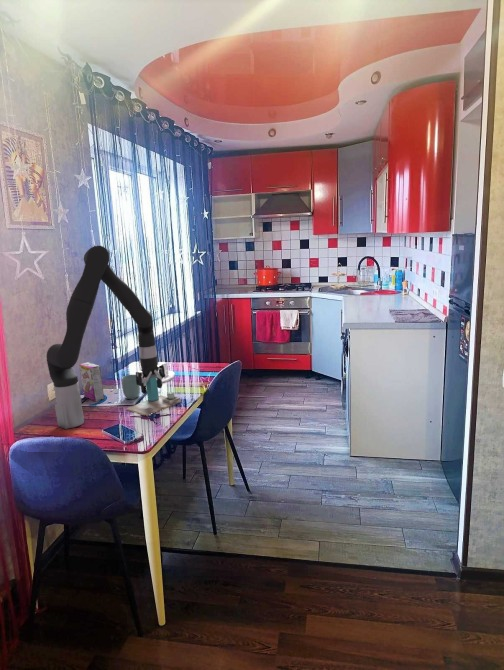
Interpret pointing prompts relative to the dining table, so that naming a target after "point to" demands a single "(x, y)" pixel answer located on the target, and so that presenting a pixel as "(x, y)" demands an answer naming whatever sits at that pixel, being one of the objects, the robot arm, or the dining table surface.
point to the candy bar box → (91, 381)
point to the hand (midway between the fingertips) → (152, 390)
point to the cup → (130, 386)
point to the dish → (168, 374)
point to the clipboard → (153, 405)
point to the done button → (170, 395)
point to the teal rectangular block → (152, 388)
